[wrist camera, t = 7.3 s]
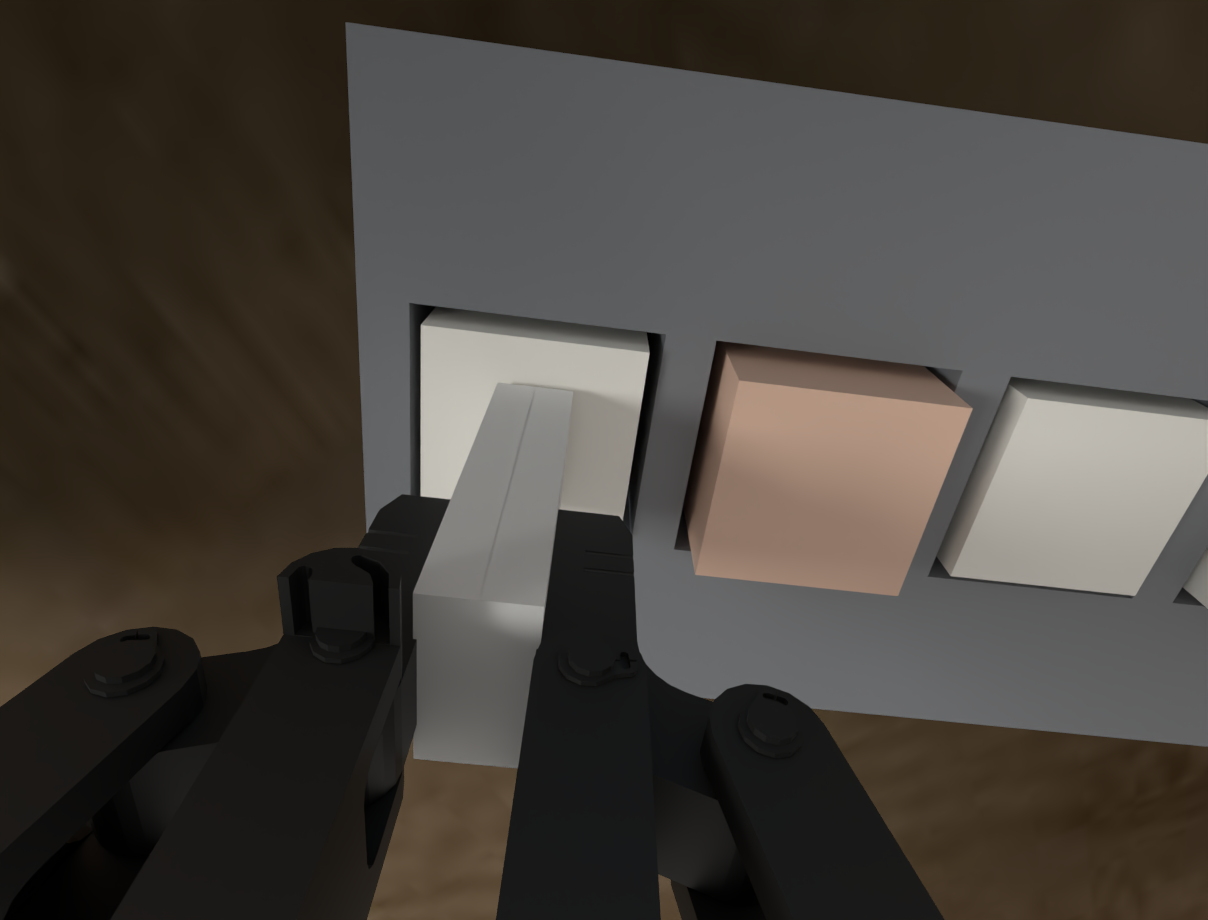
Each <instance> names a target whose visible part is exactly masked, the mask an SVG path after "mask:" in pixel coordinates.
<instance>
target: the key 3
mask: <svg viewBox="0 0 1208 920" xmlns="http://www.w3.org/2000/svg"><path fill="white" fill-rule="evenodd" d="M1207 475H1208V408H1207V407H1205V406H1203V405H1201V404H1199V403H1198V402H1196V401H1194V400H1192V399H1190V398H1182V397H1174V396H1166V395H1158V394H1149V393H1141V392H1133V391H1125V390H1117V389H1108V388H1100V387H1092V386H1084V385H1076V384H1068V383H1059V382H1051V381H1043V380H1035V379H1027V378H1019V377H1011V378H1010V380H1009V383H1008V385H1007V388H1006V390H1005V392H1004V395H1003V397H1002V400H1001V402H1000V404H999V407H998V409H997V412H996V414H995V416H994V419H993V421H992V424H991V426H990V428H989V431H988V433H987V436H986V438H985V440H984V443H983V445H982V448H981V450H980V452H979V455H978V457H977V460H976V462H975V464H974V467H973V469H972V472H971V474H970V476H969V479H968V481H967V484H966V486H965V488H964V491H963V493H962V496H961V498H960V500H959V503H958V505H957V508H956V510H955V512H954V515H953V517H952V519H951V522H950V524H949V527H948V529H947V531H946V534H945V536H944V539H943V541H942V543H941V546H940V548H939V551H938V553H937V555H936V556H937V558H938V559H939V561H940V562H941V563H942V565H943V566H944V568H945V569H946V570H947V572H948V573H949V575H950V576H954V577H964V578H973V579H982V580H992V581H1001V582H1010V583H1020V584H1029V585H1038V586H1048V587H1057V588H1066V589H1075V590H1085V591H1094V592H1103V593H1113V594H1122V595H1131V596H1135V595H1136V594H1137V592H1138V590H1139V589H1140V587H1141V585H1142V584H1143V582H1144V580H1145V578H1146V577H1147V575H1148V573H1149V572H1150V570H1151V568H1152V567H1153V565H1154V563H1155V562H1156V560H1157V558H1158V557H1159V555H1160V553H1161V552H1162V550H1163V548H1164V547H1165V545H1166V543H1167V542H1168V540H1169V538H1170V537H1171V535H1172V533H1173V532H1174V530H1175V528H1176V527H1177V525H1178V523H1179V522H1180V520H1181V518H1182V516H1183V515H1184V513H1185V511H1186V510H1187V508H1188V506H1189V505H1190V503H1191V501H1192V500H1193V498H1194V496H1195V495H1196V493H1197V491H1198V490H1199V488H1200V486H1201V485H1202V483H1203V481H1204V480H1205V478H1206V476H1207Z"/></svg>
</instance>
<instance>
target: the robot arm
mask: <svg viewBox="0 0 1208 920" xmlns="http://www.w3.org/2000/svg"><path fill="white" fill-rule="evenodd" d="M572 399H573V391H565V390H557V389H548V388H540V387H531V386H523V385H515V384H506V383H497V386H496V388H495V391H494V393H493V396H492V398H491V400H490V403H489V405H488V408H487V410H486V413H485V415H484V418H483V420H482V423H481V425H480V428H479V430H478V433H477V435H476V438H475V440H474V443H473V445H472V448H471V450H470V453H469V455H468V458H467V460H466V462H465V465H464V467H463V470H462V472H461V475H460V477H459V480H458V482H457V485H456V487H455V490H454V492H453V495H452V497H451V499H442V498H433V497H423V496H414V495H405V494H402V495H400V496H399V497H397V498H396V499H394V500H393V501H391V502H390V503H388V504H387V505H386V506H384V507H383V508H381V509H380V510H379V511H378V513H377V515H376V517H375V519H374V520H373V522H372V524H371V526H370V527H369V529H368V533H366V534H365V536H364V538H363V540H362V542H361V543H360V545H359V548H333V549H328V550H324V551H319V552H315V553H311V554H309V555H307V556H305V557H303V558H301V559H298V560H296V561H294V562H292V563H291V564H290V565H289V566H287V567H286V568H285V569H284V570H283V571H282V572H281V573H280V574H279V575H278V576H277V581H278V589H279V598H280V607H281V615H282V624H283V633H284V635H283V637H282V638H281V640H280V642H279V643H278V644H275V645H273V646H270V647H267V648H262V649H257V650H252V651H247V652H240V653H232V654H224V655H217V656H209V657H202V658H201V655H200V651H199V649H198V647H197V645H196V644H195V642H194V640H193V638H191V637H189V636H187V635H186V634H184V633H182V632H180V631H178V630H175V629H167V628H160V627H148V628H139V629H130V630H125V631H122V632H119V633H116V634H113V635H110V636H107V637H104V638H101V639H98V640H96V641H95V642H93V643H91V644H89V645H88V646H86V647H84V648H82V649H81V650H79V651H77V652H75V653H74V654H72V655H71V656H70V657H68V658H67V659H65V660H64V661H63V662H61V663H60V664H59V665H57V666H56V667H55V668H53V669H52V670H50V671H49V672H48V673H46V674H45V675H44V676H42V677H41V678H39V679H38V680H37V681H35V682H34V683H33V684H31V685H30V686H29V687H27V688H26V689H24V690H23V691H22V692H20V693H19V694H18V695H16V696H15V697H14V698H12V699H11V700H9V701H8V702H7V703H5V704H4V705H3V706H1V707H0V920H367V917H368V914H369V910H370V907H371V903H372V900H373V897H374V893H375V890H376V887H377V883H378V880H379V876H380V873H381V870H382V866H383V863H384V860H385V856H386V853H387V849H388V846H389V843H390V839H391V836H392V833H393V829H394V826H395V823H396V819H397V816H398V812H399V809H400V806H401V802H402V799H403V788H404V764H405V761H406V757H407V754H408V751H409V748H410V745H411V741H412V738H413V759H423V760H434V761H444V762H455V763H466V764H477V765H487V766H498V767H509V768H518V771H517V778H516V785H515V792H514V799H513V805H512V812H511V819H510V826H509V833H508V840H507V847H506V854H505V861H504V868H503V875H502V882H501V889H500V896H499V902H498V909H497V916H496V920H661V918H660V900H659V882H658V874H660V875H662V876H664V877H667V878H669V879H671V886H672V889H673V892H674V895H675V899H676V902H677V905H678V908H679V912H680V915H681V918H682V920H944V918H943V916H942V915H941V913H940V911H939V910H938V908H937V907H936V905H935V903H934V902H933V900H932V898H931V897H930V895H929V894H928V892H927V890H926V889H925V887H924V885H923V884H922V882H921V881H920V879H919V877H918V876H917V874H916V872H915V871H914V869H913V868H912V866H911V864H910V863H909V861H908V859H907V858H906V856H905V855H904V853H903V851H902V850H901V848H900V847H899V845H898V843H897V842H896V840H895V838H894V837H893V835H892V834H891V832H890V830H889V829H888V827H887V825H886V824H885V822H884V821H883V819H882V817H881V816H880V814H879V812H878V811H877V809H876V808H875V806H874V804H873V803H872V801H871V799H870V798H869V796H868V795H867V793H866V791H865V790H864V788H863V786H862V785H861V783H860V782H859V780H858V778H857V777H856V775H855V774H854V772H853V770H852V769H851V767H850V765H849V764H848V762H847V761H846V759H845V757H844V756H843V754H842V752H841V751H840V749H839V748H838V746H837V744H836V743H835V741H834V739H833V738H832V736H831V735H830V733H829V731H828V730H827V728H826V726H825V725H824V723H823V722H822V721H821V720H820V719H819V718H818V716H817V715H816V714H815V713H814V712H813V711H812V709H811V708H810V707H809V706H808V705H806V704H805V703H803V702H802V701H800V700H799V699H797V698H796V697H794V696H793V695H791V694H790V693H787V692H785V691H782V690H779V689H776V688H773V687H770V686H768V685H756V684H743V685H739V686H736V687H732V688H728V689H726V690H725V691H724V692H723V693H722V694H721V695H719V696H718V697H717V698H716V699H715V700H714V702H711V701H709V700H706V699H703V698H700V697H698V696H695V695H692V694H689V693H687V692H684V691H682V690H680V689H678V688H676V687H674V686H671V685H670V684H668V683H667V682H665V681H664V680H662V679H661V678H660V677H658V676H657V675H656V674H655V673H654V672H653V671H652V670H651V669H650V668H649V667H648V666H647V665H646V663H645V661H644V659H643V657H642V654H641V653H640V652H639V647H638V642H637V625H636V603H635V581H634V560H633V536H632V534H631V532H630V531H629V529H628V528H627V527H626V525H625V524H624V522H623V521H622V519H621V518H620V517H619V516H615V515H606V514H597V513H588V512H579V511H570V510H561V509H560V508H561V499H562V490H563V481H564V472H565V463H566V453H567V444H568V435H569V426H570V417H571V408H572Z"/></svg>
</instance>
